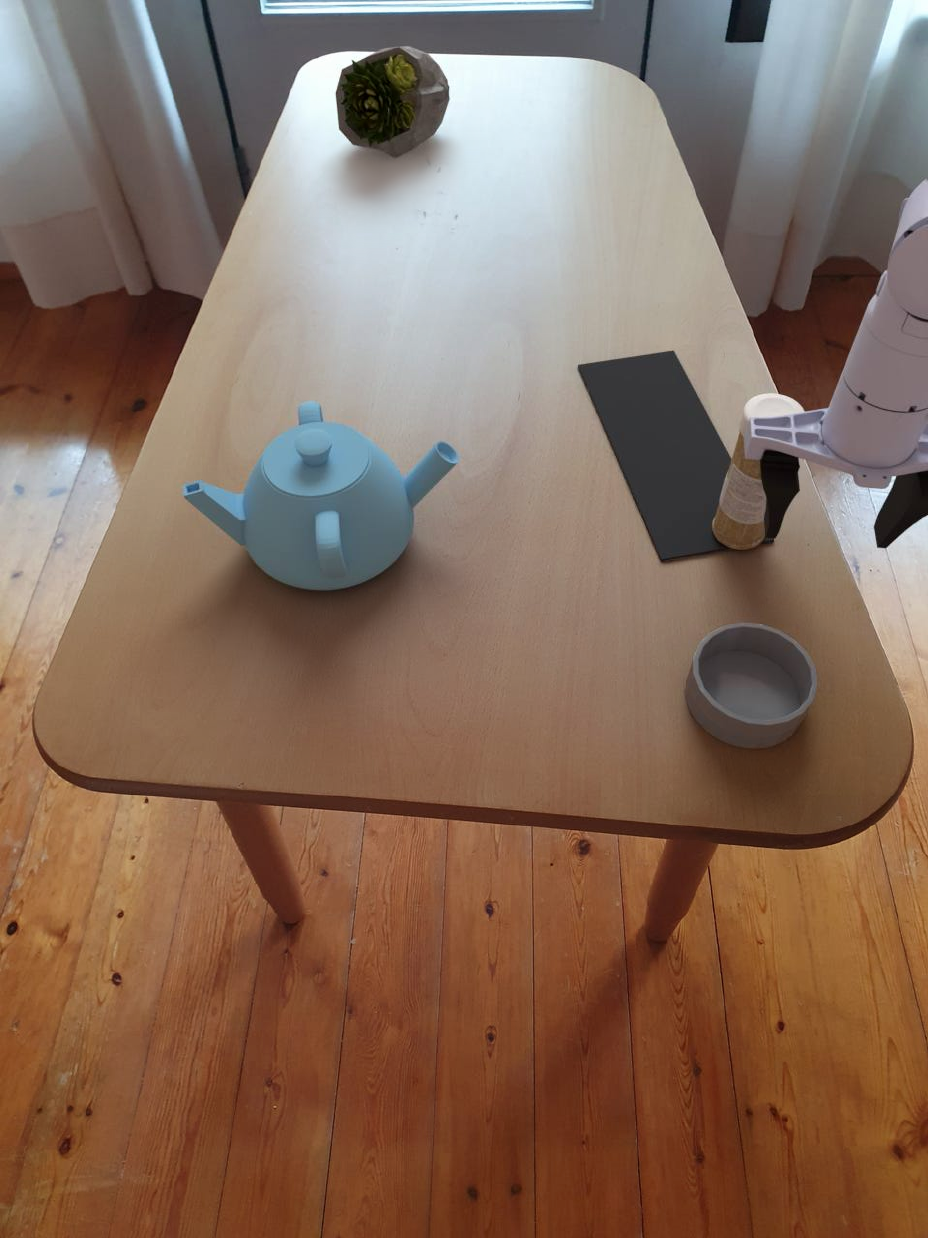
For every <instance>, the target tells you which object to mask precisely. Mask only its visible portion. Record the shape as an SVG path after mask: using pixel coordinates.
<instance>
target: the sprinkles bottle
mask: <svg viewBox="0 0 928 1238" xmlns="http://www.w3.org/2000/svg"><path fill="white" fill-rule="evenodd" d="M801 412H806V411H805V410H804V407H803V406H802V405H801V404H800V403H799V402H798V401H797V400H795V399H793V398H792V397H789V396H787V395H783V394H781V393H771V392H769V393H768V392H767V393H762V394H761V393H760V394H758V395H755V396H754V397H752V398H750V399H749V400H748V401H747V402H746V404H745V405H744V407H743V409H742V413H741V416H740V420H739V424H738V426H739V428H738V431H739V432H738V436H737V440H736V443H735V446H734V450H733V453H732V456H731V463H730V466H729V470H728V472H727V474H726V478H725V481H724V485H723V488H722V492H721V496H720V502H719V506H718V509H717V513H716V516H715V518H714V519H713V522H712V530H713V533H714V535H715V537H716V538H717V540H718V541H719V542H721V543H723V544H724V545H726V546H728V547H730V548H733V549H732V550H739V551H741V550H742V551H743V550H749V549H753V548H756V547H758V545H761V544H760V543H761V541H762V540H763V539H764V536H765V528H764V515H765V509H766V495H765V492H764V490H763V486H762V481H761V473H760V460H753V459H745V452H744V436H745V433H746V430H747V426H748V423H749V420H750V417H776V416H783V415H789V414H795V413H801Z"/></svg>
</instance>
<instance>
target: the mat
mask: <svg viewBox="0 0 928 1238" xmlns="http://www.w3.org/2000/svg"><path fill="white" fill-rule="evenodd" d="M577 368H578V371H579V373H580V376H581V378H582V380H583V383H584V385H585V387H586V390H587V392H588V395H589V397H590V399H591V401H592V403H593V406H594V408H595V411H596V413H597V415H598V417H599V420H600V422H601V424H602V426H603V427H602V428H603V429H604V431H605V434H606V436H607V439H608V441H609V444H610V445H611V448H612V450H613V452H614V455H615V458H616V459H617V461H618V463H619V466H620V469H621V471H622V473H623V476H624V478H625V481H626V482H627V485H628V488H629V490H630V493H631V495H632V497H633V499H634V501H635V505H636V507H637V508H638V511H639V513H640V516H641V518H642V521H643V522H644V525H645V527H646V529H647V531H648V534H649V537H650V540H651V542H652V543H653V546H654V548H655V550H656V552H657V554H658V557H659V560H660V562H667V561H672V560H679V559H683V558H690V557H695V556H696V557H697V556H702V555H706V554H707V555H708V554H712V553H719V552H723V551H724V552H725V551H730V550H734V549H733V548H730V547H728V546H726V545H724V544H723V543H721V542H719V541H718V540H717V538H716V537H715V535H714V533H713V530H712V522H713V519H714V518H715V516H716V513H717V509H718V506H719V502H720V496H721V492H722V488H723V485H724V481H725V478H726V474H727V472H728V470H729V466H730V463H731V459H732V456H731V455H730V454H729V452H728V449H727V448H726V446H725V444H724V442H723V439H722V438H721V436H720V434H719V432H718V431H717V428H716V427H715V425H714V423H713V421H712V419H711V417H710V416H709V414H708V412H707V411H706V410H707V409H706V408H705V406H704V404H703V402H702V401H701V399H700V397H699V395H698V393H697V391H696V389H695V387H694V386H693V384H692V382H691V380H690V378H689V376H688V375H687V372H686V371H685V369H684V367H683V365H682V363H681V360H680V359H679V358H678V356H677V353H676V352H675V350H667V351H666V350H665V351H660V352H659V351H658V352H653V353H646V354H639V355H634V356H626V357H620V358H614V359H607V360H601V361H594V362H587V363H580V364H577ZM774 542H775V539H774V538H766V537H765V536H764V539H763V540H762V541H761V543H760V544H759V545H765V544H770V543H774Z"/></svg>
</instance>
